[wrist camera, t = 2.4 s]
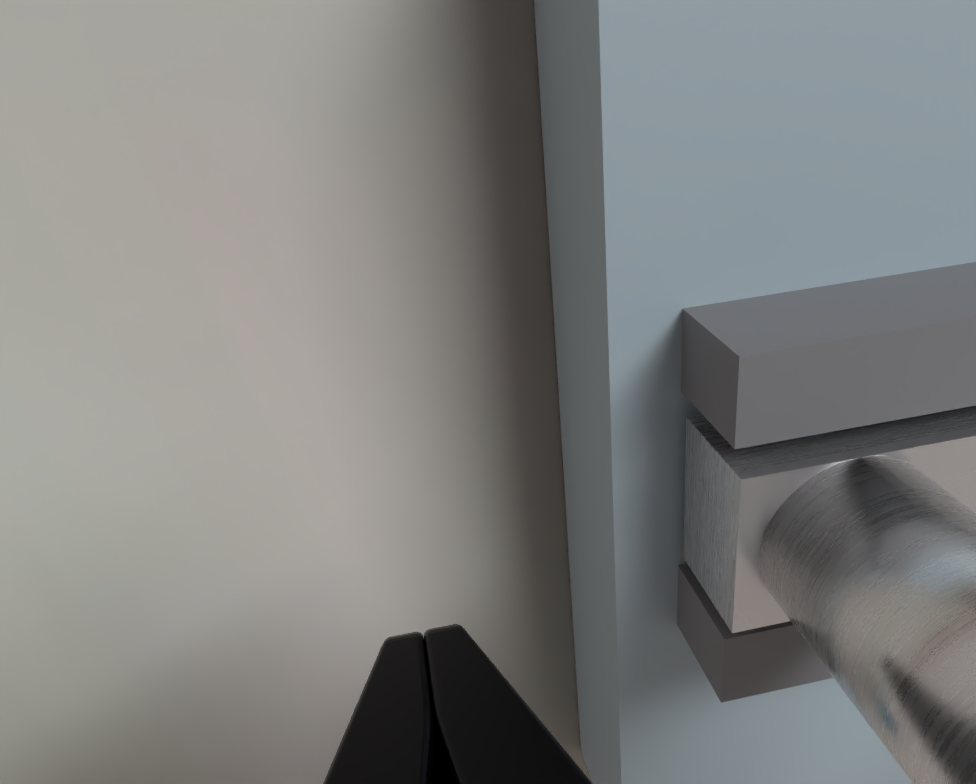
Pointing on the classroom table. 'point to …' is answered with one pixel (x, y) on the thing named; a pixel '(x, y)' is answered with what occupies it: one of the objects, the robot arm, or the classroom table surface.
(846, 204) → the door panel
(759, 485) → the bolt
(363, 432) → the classroom table surface
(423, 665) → the robot arm
